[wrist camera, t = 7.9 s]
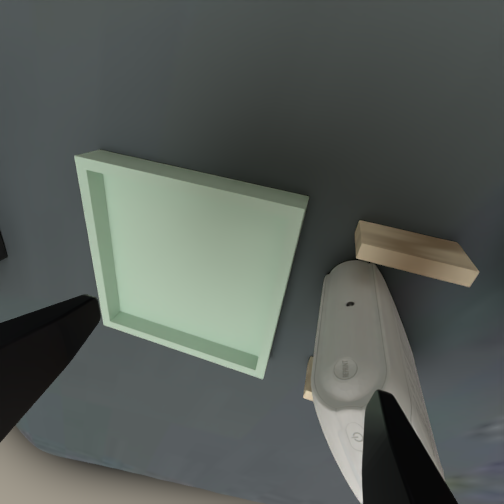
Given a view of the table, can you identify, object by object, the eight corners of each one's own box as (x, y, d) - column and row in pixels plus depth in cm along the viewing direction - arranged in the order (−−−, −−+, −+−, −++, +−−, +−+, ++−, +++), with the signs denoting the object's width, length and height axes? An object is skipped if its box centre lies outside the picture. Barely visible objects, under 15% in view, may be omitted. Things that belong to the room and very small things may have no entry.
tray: (309, 196, 19) (305, 209, 17) (269, 357, 27) (263, 379, 25) (100, 149, 22) (74, 155, 20) (120, 308, 30) (103, 324, 28)
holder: (457, 242, 18) (479, 272, 15) (375, 385, 25) (379, 423, 22) (359, 219, 19) (361, 243, 16) (307, 363, 26) (303, 397, 23)
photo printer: (316, 267, 22) (288, 430, 11) (376, 249, 20) (410, 426, 9) (362, 365, 25) (374, 564, 14) (417, 359, 23) (478, 582, 12)
